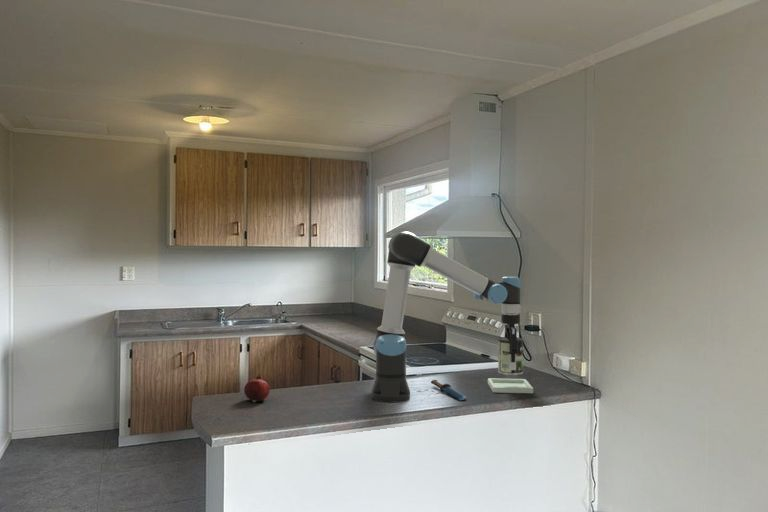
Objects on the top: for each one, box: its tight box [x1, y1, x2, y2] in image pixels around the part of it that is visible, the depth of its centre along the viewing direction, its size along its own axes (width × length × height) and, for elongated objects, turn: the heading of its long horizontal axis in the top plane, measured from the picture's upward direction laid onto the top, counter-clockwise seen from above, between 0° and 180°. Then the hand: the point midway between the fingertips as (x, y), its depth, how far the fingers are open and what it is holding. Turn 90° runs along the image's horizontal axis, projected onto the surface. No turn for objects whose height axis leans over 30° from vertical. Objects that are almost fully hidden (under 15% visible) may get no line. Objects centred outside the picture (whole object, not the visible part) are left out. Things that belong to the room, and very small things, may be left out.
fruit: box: [243, 373, 270, 403], centre depth 217 cm, size 9×10×10 cm
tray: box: [487, 377, 534, 394], centre depth 240 cm, size 16×16×2 cm
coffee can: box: [497, 336, 524, 376], centre depth 240 cm, size 10×10×14 cm
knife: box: [430, 379, 467, 401], centre depth 231 cm, size 24×3×5 cm
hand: (510, 367), depth 240 cm, fingers closed on coffee can, 10 cm apart
